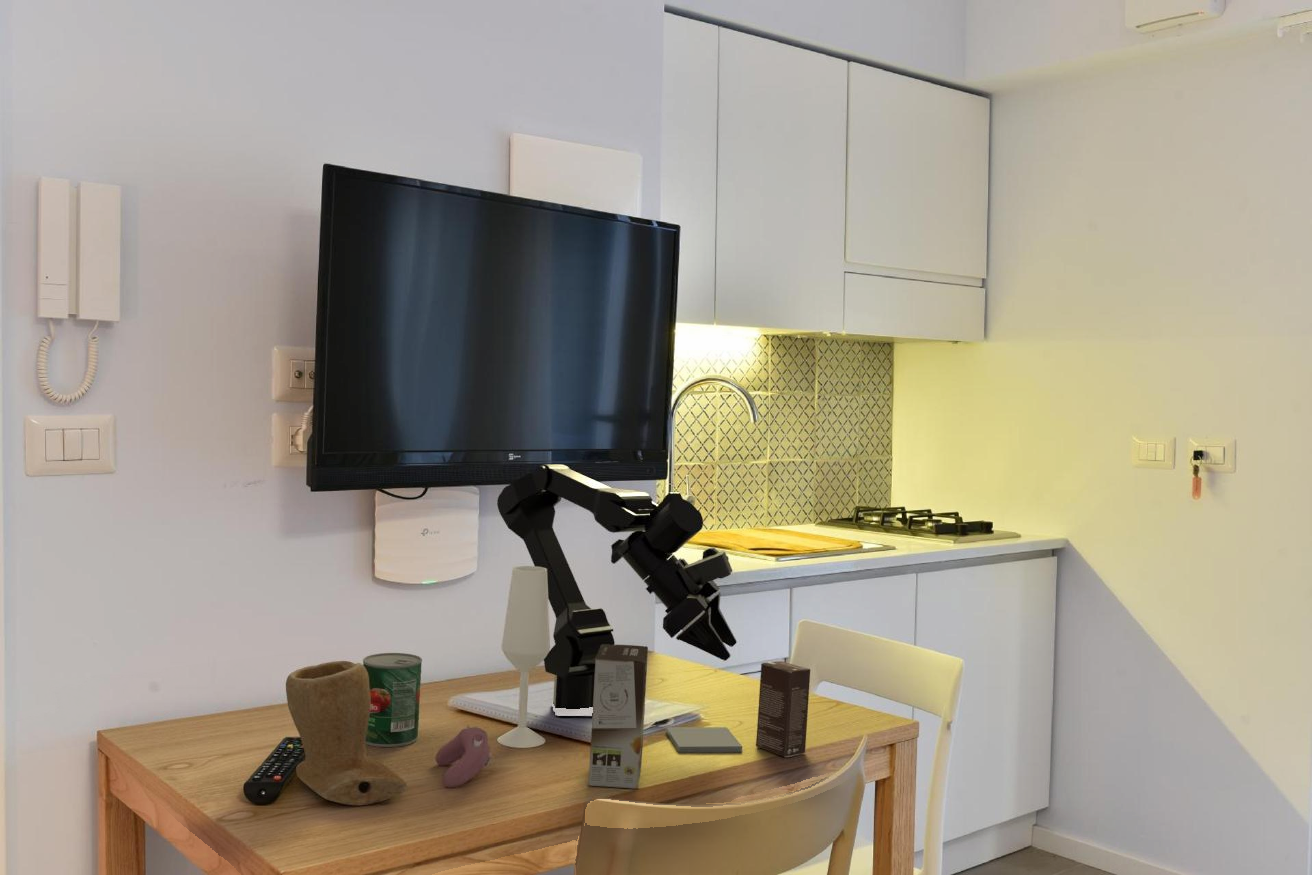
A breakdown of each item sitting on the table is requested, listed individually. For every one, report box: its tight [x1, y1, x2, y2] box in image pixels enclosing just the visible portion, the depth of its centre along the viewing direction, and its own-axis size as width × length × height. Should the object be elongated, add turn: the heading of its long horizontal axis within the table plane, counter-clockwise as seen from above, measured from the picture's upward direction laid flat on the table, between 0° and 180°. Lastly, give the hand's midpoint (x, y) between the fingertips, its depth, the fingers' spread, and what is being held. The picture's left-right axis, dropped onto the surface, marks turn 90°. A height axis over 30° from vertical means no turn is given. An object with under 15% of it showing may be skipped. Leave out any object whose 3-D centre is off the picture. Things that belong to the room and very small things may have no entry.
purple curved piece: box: [434, 725, 491, 789], centre depth 143 cm, size 10×5×7 cm, turn 17°
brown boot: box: [285, 660, 408, 806], centre depth 135 cm, size 15×12×15 cm
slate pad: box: [665, 726, 743, 753], centre depth 162 cm, size 9×9×1 cm
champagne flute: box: [496, 565, 551, 749], centre depth 158 cm, size 7×7×24 cm
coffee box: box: [588, 644, 649, 790], centre depth 145 cm, size 9×6×16 cm
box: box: [755, 660, 811, 758], centre depth 160 cm, size 6×4×12 cm
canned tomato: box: [362, 652, 423, 748], centre depth 156 cm, size 8×8×11 cm
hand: (731, 651), depth 161 cm, fingers open, 9 cm apart
